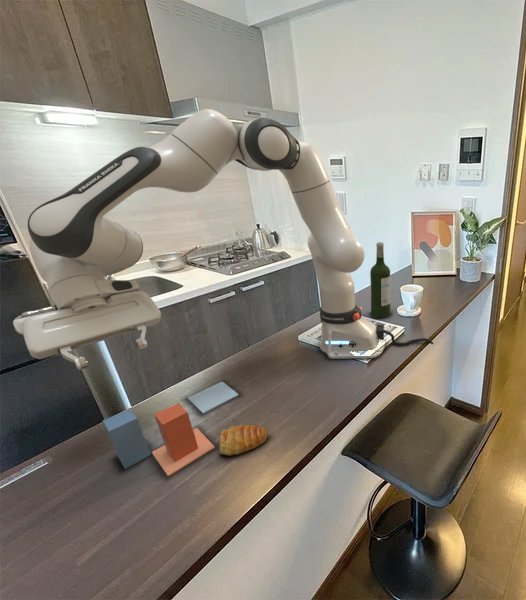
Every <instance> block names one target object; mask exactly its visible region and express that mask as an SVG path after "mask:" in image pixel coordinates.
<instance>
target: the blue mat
mask: <svg viewBox="0 0 526 600" xmlns="http://www.w3.org/2000/svg"><path fill="white" fill-rule="evenodd" d="M238 396H239V393H238V392H237V391H235V390H234V389H233V388H231V387H230V386H229V385H227V384H226V382H224V381H222V380H221V381H219V382H217V383H216V384H213V385H211V386H209V387H207V388H205V389H202V390H201V391H199V392H196V393H194V394H192V395H190V396H188V397H187V400H188V401H190V402H191V403H192V404H193V406H194V407H196V408H197V410H198V411H200V413H201V414H203V415H204V414H206V413H208V412H210V411H212V410H214V409H216V408H217V407H219V406H221V405H223V404H225V403H227V402H229V401H231V400H233V399H235V398H237V397H238Z"/></svg>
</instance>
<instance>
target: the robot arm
mask: <svg viewBox="0 0 526 600" xmlns="http://www.w3.org/2000/svg"><path fill="white" fill-rule="evenodd" d="M232 161H235V162H237V163H239V164H241V165H242V166H244V167H246V168H248V169H251V170H255V171H261V172H270V171H272V170H274V171H277V170H278V171H279V172H280V173H281V174H282V175H283V177H284V179H285V180H286V181H287V184H288V187H289V190H290V192H291V195H292V197H293V200H294V202H295V205H296V206H297V209H298V212H299V214H300V217H301V219H302V221H303V222H304V224H305V225H306V226H307V228H308V230H309V232H310V234H309V235H308V238H307V247H308V250H309V252H310V255H311V259H312V263H313V267H314V271H315V272H314V273H315V276H316V279H317V283H318V289H319V299H320V300H319V301H320V307H319V318H320V323H321V335H320V341H319V345H318V346H319V349H320V351H322V352H323V353H325V354H326V355H327V357H328V358H329V359H333V360H334V359H337V360H338V359H339V360H340V359H342V360H343V359H375V358H377V357H379V356H380V355H381V354H382V353H383V351H384V350H385V348H386V344H385V345H384V346H383V347H382V348H381V349H379V350H375V352H376V353H375V354H374V356H354V355H353V354H352V353H350V352H351V351H352V352H354V351H355V352H356V351H368V350H373V349H375V348H376V347H377V345H378V343H379V339H380V340H384V338H385V334H386V335H388V336H390V338H391V342H392V343H393V344H394V345H396V346H407V345H410V344H412V343H417V342H427V343H429V344H430V345H434V342H433V341H432V340H431V339H429V338H426V337H425V338H424V337H421V338H413V339H409V340H408V341H404V342H399V341H397V340H395V336H394V334H393V333H392V332H391V331H388V330H385V325H384V324H382V323H380V324H377V323H376V324H375V323H373V322H372V321H370V320H369V319H367V318H366V317H364V316H363V315H362V310H363V307H362V305H361V306H360V307H359V306H357V304H356V293H355V282H354V280H353V278H352V275H351V273H353V272H356V271H357V270H359V269H360V267H362V265H363V263H364V261H365V249H364V248H363V246H362V244H361V243H360V242H359V240H358V239H357V237H356V235H355V234H354V232H353V230H352V228H351V226H350V224H349V222H348V220H347V218H346V217H345V215H344V213H343V211H342V208H341V207H340V205H339V201H338V199H337V197H336V194H335V191H334V188H333V185H332V181H331V179H330V176H329V173H328V171H327V168H326V166H325V163H324V162H323V160H322V158H321V155H320V154H319V152H318V150H317V148H316V147H315V146H314V145H313V144H312V143H310V142H309V141H305V140H297V139H296V138H295V136H293V135H292V134H291V132H290V131H289V130H288V129H287V128H286V127H285V125H283V124H282V123H280V122H279V121H277V120H275V119H272V118H267V117H260V118H257V119H252V120H249V121H247V122H245V123H244V124H241V125H237V124H235V123H233V122H232V121H231V120H230V119H229V118H228V117H227V116H226V115H224V114H223V113H221V112H219V111H218V110H215V109H212V108H204V109H201V110H199V111H197V112H196V113H194V114H193V115H191V116H189V117H188V118H187V119H185V120H184V121H183V122H181V123H180V124H179V125H178V126H177V127H175V128H174V129H173V130H172V131H171V132H170V133H169V134H168V135H167V136H166V137H165V138H164V139H162V140H161V141H159V142H157V143H155V144H153V145H150V146H147V147H146V146H137V147H133V148H131V149H129V150H127V151H125V152H123V153H122V154H120V155H118V156H117V157H116V158H114V159H112V160H111V161H110V162H107V164H105V165H104V166H103V167H101V168H99V169H98V170H96V171H95V172H94V173H92V174H91V175H90V176H88V177H86V178H85V179H84V180H82V181H81V182H79V183H78V184H77V185H75V186H74V187H72V188H71V189H70V190H67V191H66V192H65V193H63V194H61V195H59V196H56V197H55V198H52V199H49V200H48V201H46V202H44V203H42V204H41V205H39V206H37V207H36V208H35V209H34V210H33V211H32V212H31V213H30V215H29V217H28V219H27V229H28V230H27V231H28V235H29V236H30V240H29V251H30V255H31V258H32V261H33V263H34V267H35V268H36V270H37V272H38V275H39V276H40V277H41V279H43V280H44V282H45V283H46V284H47V292H48V294H49V296H50V299H51V300H52V303H53V305H50V306H46V307H41V308H39V309H36V310H28V311H24V312H22V313H21V314H20V315H18V316H17V317H15V318H14V320H13V322H12V326H13V328H14V330H15V332H16V333H17V334H19V335H21V336H23V338H24V342H25V345H26V349H27V350H28V353H29V355H30V356H31V358H35V359H37V360H43V359H46V358H50V357H53V356H56V355H61V357H62V358H63V359H64V360H67V361H69V362H71V363H73V364H75V366H76V369H77V370H78V371H81V370H83V369H87V368H88V367H89V363H88V361H87V359H86V356H80V357H78V356H76V355H75V354H73V350H76V349H80V348H83V347H86V346H90V345H93V344H96V343H100V342H103V341H107V340H110V339H113V338H116V337H121V336H124V335H126V334H130V333H134V332H136V333H137V335H140V336H139V337H140V338H138V339H135V342H134V343H135V345H136V347H137V349H138V350H139V351H140V350H142V349H146V348H148V346H149V345H148V342H147V339H146V335H147V328H150V327H153V326H156V325H159V324H160V322H161V319H162V313H161V311H160V309H159V306H158V305H157V304H156V303H155V301H154V300H153V299H152V298H151V296H150V295H149V294H148V293H147V292H145V291H143V290H141V289H140V285H139V283H138V282H137V281H136V280H134V279H133V280H132V279H131V280H130V279H106V277H107V276H111V275H115V274H117V273H121V272H122V271H125V270H127V269H130V268H131V267H133V266H135V265H136V264H137V263H138V262H139V260H140V259H141V258H142V257H143V256H142V255H143V253H144V244H143V240H142V238H141V236H140V235H139V234H138V233H137V232H136V231H134V230H132V229H130V228H128V227H126V226H124V225H122V224H120V223H118V222H116V221H113V220H111V219H109V218H107V217H105V216H106V215H107V214H108V213H109V212H111V211H112V210H114V209H115V208H116V207H117V206H118V205H120V204H121V203H122V202H124V201H125V200H126V199H128V198H129V197H130V196H132V195H133V194H134V193H136V192H137V191H140V190H143V189H147V188H160V189H166V190H170V191H174V192H178V193H185V194H186V193H197V192H199V191H201V190H203V189H204V188H206V187H207V186H208V185H209V184H211V182H212V181H213V180H214V179H215V178H217V176H218V175H219V174H220V173H221V172H222V171H223V169H224V168H225V167H226V166H227V165H229V164H230V163H231V162H232ZM360 355H361V354H360Z"/></svg>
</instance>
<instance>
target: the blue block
mask: <svg viewBox="0 0 526 600" xmlns="http://www.w3.org/2000/svg"><path fill="white" fill-rule="evenodd" d="M102 424H103V426H104V428H105V431H106V433H107V435H108V437H109V440H110V442H111V444H112V447H113V449H114V452H115V454H116V456H117V458H118V459H119V461H120V462H121V465H122V466H123V468H124V469H125V470H126V469H128V468H130V467H131V466H134V465H135V464H137V463H139V462H141V461H143V460H144V459H146V458H148V457H149V456H152V452H151V451H150V448H149V445H148V442H147V440H146V437H145V435H144V433H143V430H142V428H141V424H140V422H139V419H138V417H137V415H136V414H135V413H134V412H133V410H132V409H131V408H128V409H125V410H124V411H121V412H119V413H116V414H114V415H112V416H110V417H107V418H105V419H103V420H102Z"/></svg>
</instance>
